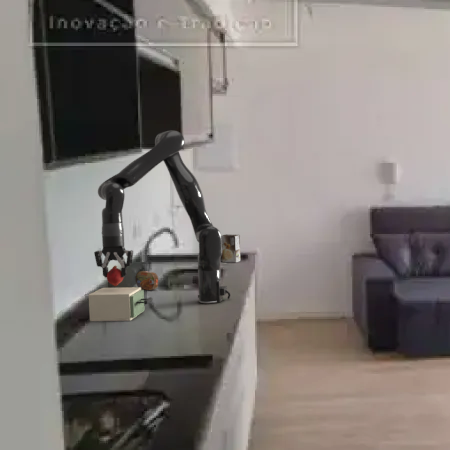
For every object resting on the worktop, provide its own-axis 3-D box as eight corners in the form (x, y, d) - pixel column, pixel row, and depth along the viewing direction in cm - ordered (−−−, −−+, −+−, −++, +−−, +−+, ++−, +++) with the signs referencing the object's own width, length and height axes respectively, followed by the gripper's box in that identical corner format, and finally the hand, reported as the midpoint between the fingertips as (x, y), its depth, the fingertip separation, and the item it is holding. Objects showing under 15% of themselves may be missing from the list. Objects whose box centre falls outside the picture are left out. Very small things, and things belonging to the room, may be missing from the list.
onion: (116, 287, 240) (115, 267, 239) (103, 287, 241) (102, 266, 241) (126, 284, 246) (126, 264, 245) (114, 284, 247) (113, 264, 246)
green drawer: (155, 310, 252) (154, 289, 251) (145, 317, 240) (144, 296, 239) (109, 311, 250) (108, 290, 249) (96, 318, 239) (95, 296, 238)
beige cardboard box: (142, 312, 252) (141, 287, 251) (130, 320, 239) (129, 294, 238) (103, 313, 250) (102, 287, 249) (89, 321, 238) (88, 294, 237)
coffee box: (241, 261, 378) (240, 234, 376) (236, 262, 371) (235, 235, 370) (226, 260, 379) (226, 234, 377) (221, 262, 373) (220, 235, 371)
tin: (135, 287, 299) (134, 270, 298) (141, 286, 302) (140, 269, 301) (153, 291, 291) (153, 273, 290) (160, 290, 293) (159, 272, 293)
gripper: (135, 232, 246) (137, 275, 248) (97, 233, 244) (99, 275, 246) (128, 235, 238) (130, 278, 240) (89, 235, 237) (91, 279, 239)
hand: (115, 276), depth 243 cm, fingers closed on onion, 5 cm apart
